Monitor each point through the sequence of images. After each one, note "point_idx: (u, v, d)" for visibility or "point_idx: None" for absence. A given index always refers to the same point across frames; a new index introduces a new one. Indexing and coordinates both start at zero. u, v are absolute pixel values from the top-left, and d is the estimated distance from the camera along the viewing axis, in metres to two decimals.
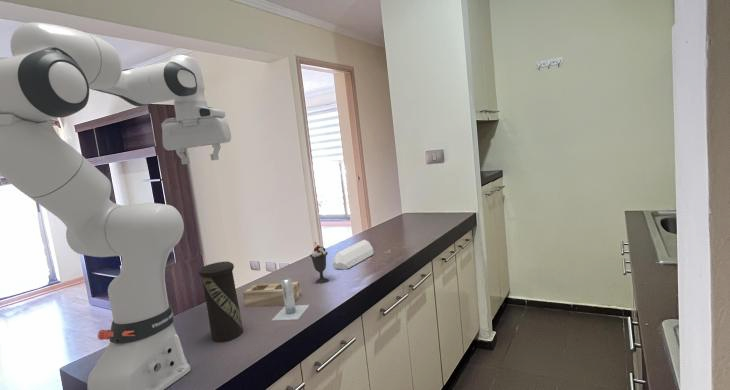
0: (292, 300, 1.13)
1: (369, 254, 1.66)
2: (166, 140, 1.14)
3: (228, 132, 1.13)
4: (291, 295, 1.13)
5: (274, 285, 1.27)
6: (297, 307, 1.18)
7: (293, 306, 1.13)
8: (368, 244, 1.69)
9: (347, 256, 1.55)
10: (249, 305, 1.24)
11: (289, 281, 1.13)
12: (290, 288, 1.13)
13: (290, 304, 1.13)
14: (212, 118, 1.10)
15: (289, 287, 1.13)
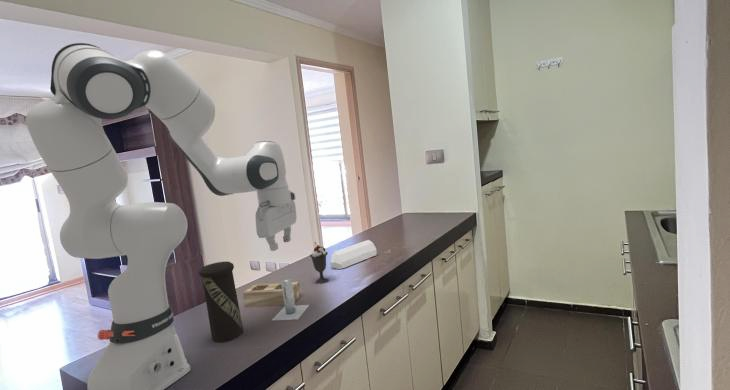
0: (292, 300, 1.13)
1: (371, 255, 1.65)
2: (270, 226, 1.03)
3: None
4: (291, 295, 1.13)
5: (274, 285, 1.27)
6: (297, 307, 1.18)
7: (293, 306, 1.13)
8: (371, 245, 1.67)
9: (343, 256, 1.55)
10: (249, 305, 1.24)
11: (289, 281, 1.13)
12: (290, 288, 1.13)
13: (290, 304, 1.13)
14: (293, 201, 1.18)
15: (289, 287, 1.13)
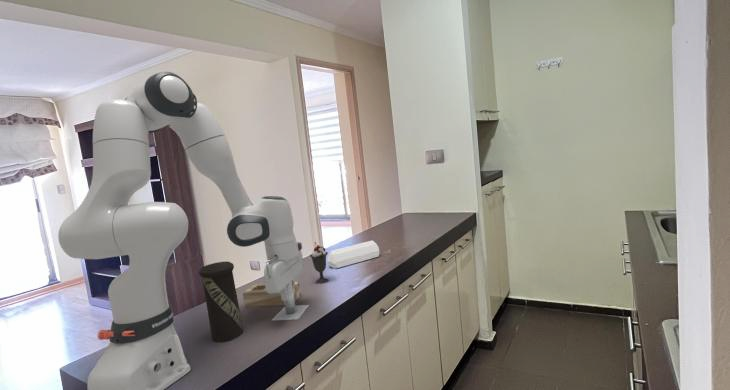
0: (292, 300, 1.13)
1: (372, 256, 1.63)
2: (279, 282, 1.05)
3: None
4: (291, 295, 1.13)
5: None
6: (297, 307, 1.18)
7: (293, 306, 1.13)
8: (374, 245, 1.65)
9: (339, 255, 1.57)
10: (249, 305, 1.24)
11: None
12: (290, 288, 1.13)
13: (290, 304, 1.13)
14: (300, 251, 1.20)
15: (289, 287, 1.13)
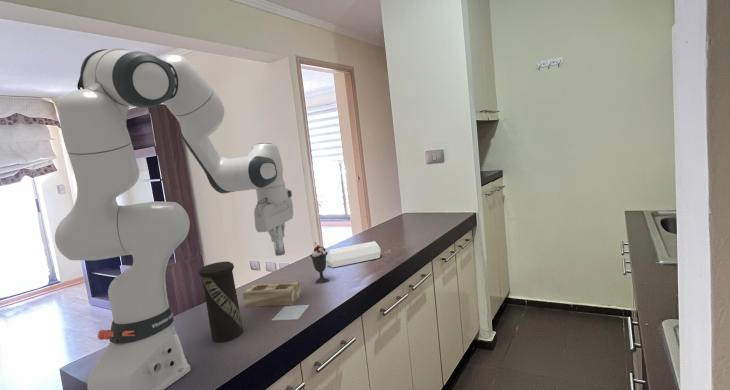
0: (281, 242, 1.21)
1: (372, 257, 1.61)
2: (268, 221, 1.12)
3: None
4: (280, 237, 1.20)
5: (274, 285, 1.27)
6: (297, 307, 1.18)
7: (282, 248, 1.21)
8: (375, 247, 1.63)
9: (336, 255, 1.58)
10: (249, 305, 1.24)
11: None
12: (279, 231, 1.20)
13: (279, 246, 1.20)
14: (290, 198, 1.27)
15: (279, 230, 1.20)
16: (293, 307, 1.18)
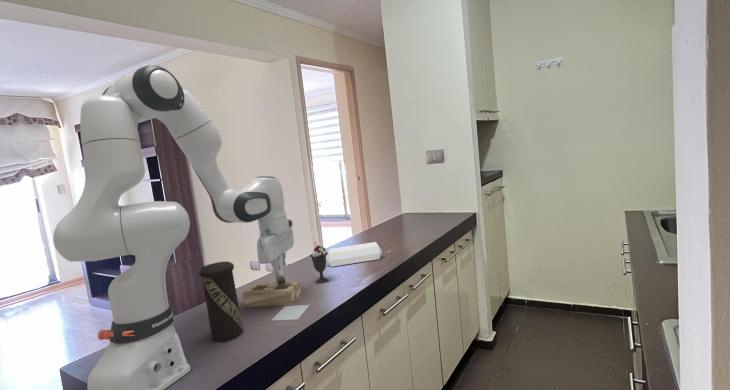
0: (282, 272, 1.24)
1: (371, 258, 1.60)
2: (270, 253, 1.15)
3: None
4: (281, 267, 1.24)
5: (274, 285, 1.27)
6: (297, 307, 1.18)
7: (283, 277, 1.24)
8: (375, 248, 1.61)
9: (335, 254, 1.59)
10: (249, 305, 1.24)
11: None
12: (281, 261, 1.23)
13: (281, 275, 1.23)
14: (290, 228, 1.30)
15: (280, 260, 1.23)
16: (293, 307, 1.18)
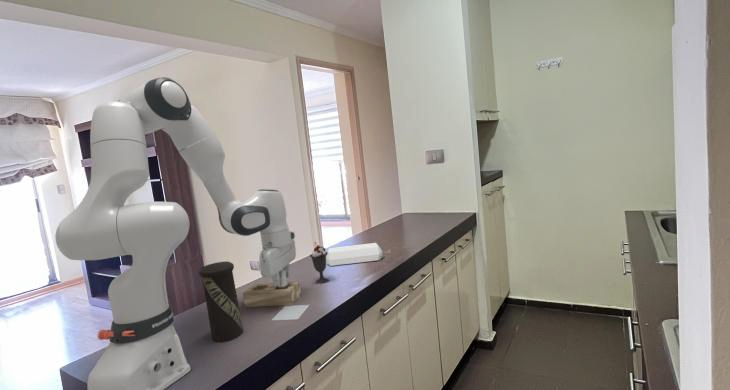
0: None
1: (370, 259, 1.58)
2: (272, 266, 1.15)
3: None
4: (285, 285, 1.24)
5: None
6: (297, 307, 1.18)
7: None
8: (375, 248, 1.59)
9: (334, 254, 1.60)
10: (249, 305, 1.24)
11: (283, 272, 1.24)
12: (284, 279, 1.24)
13: None
14: (293, 240, 1.30)
15: (284, 278, 1.24)
16: (293, 307, 1.18)
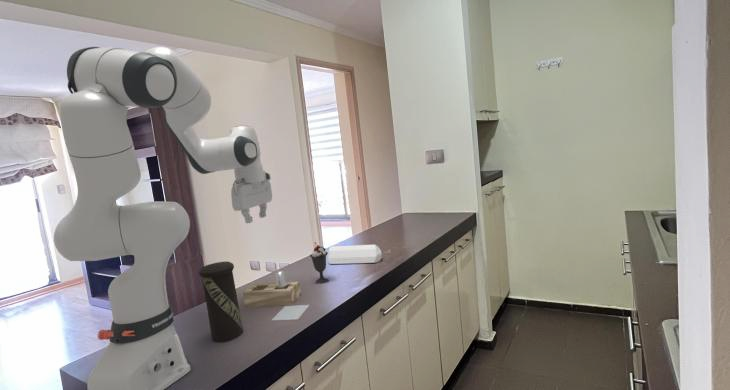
0: None
1: (366, 261, 1.57)
2: (244, 200, 1.17)
3: None
4: (284, 286, 1.24)
5: (274, 285, 1.27)
6: (297, 307, 1.18)
7: None
8: (373, 250, 1.57)
9: (334, 253, 1.62)
10: (249, 305, 1.24)
11: (282, 273, 1.23)
12: (283, 279, 1.24)
13: None
14: (268, 181, 1.32)
15: (282, 279, 1.23)
16: (293, 307, 1.18)
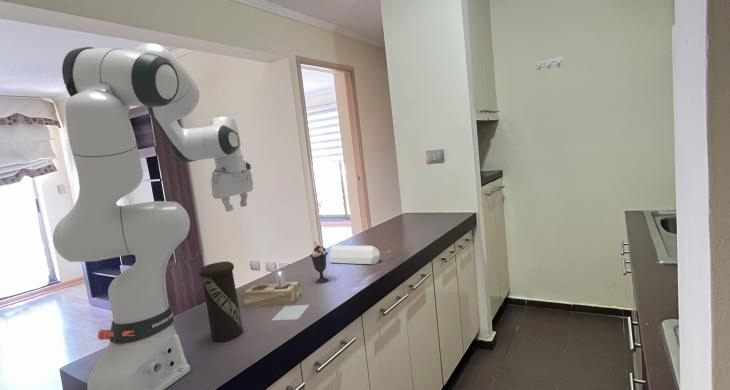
0: None
1: (363, 262, 1.56)
2: (224, 188, 1.20)
3: None
4: (284, 285, 1.24)
5: (274, 285, 1.27)
6: (297, 307, 1.18)
7: None
8: (370, 252, 1.55)
9: (335, 252, 1.64)
10: (249, 305, 1.24)
11: (282, 273, 1.24)
12: (283, 279, 1.24)
13: None
14: (249, 171, 1.35)
15: (282, 278, 1.24)
16: (293, 307, 1.18)
